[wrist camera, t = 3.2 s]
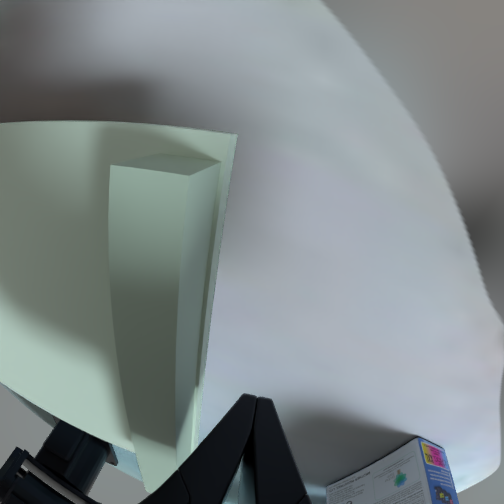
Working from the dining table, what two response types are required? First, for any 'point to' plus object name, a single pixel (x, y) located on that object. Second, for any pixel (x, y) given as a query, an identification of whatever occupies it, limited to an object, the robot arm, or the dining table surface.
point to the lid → (112, 277)
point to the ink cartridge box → (400, 479)
